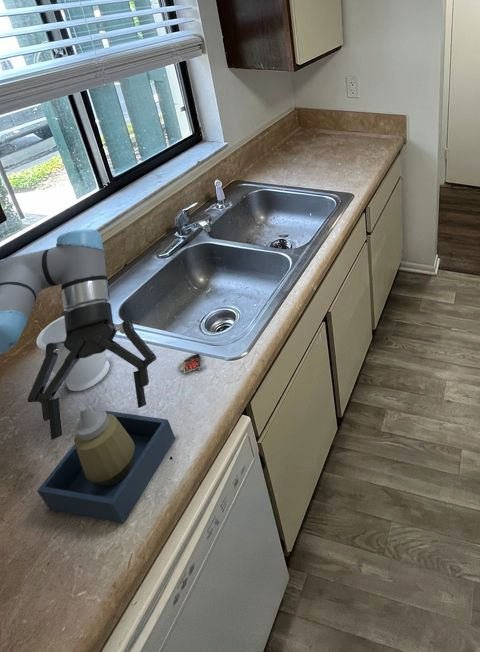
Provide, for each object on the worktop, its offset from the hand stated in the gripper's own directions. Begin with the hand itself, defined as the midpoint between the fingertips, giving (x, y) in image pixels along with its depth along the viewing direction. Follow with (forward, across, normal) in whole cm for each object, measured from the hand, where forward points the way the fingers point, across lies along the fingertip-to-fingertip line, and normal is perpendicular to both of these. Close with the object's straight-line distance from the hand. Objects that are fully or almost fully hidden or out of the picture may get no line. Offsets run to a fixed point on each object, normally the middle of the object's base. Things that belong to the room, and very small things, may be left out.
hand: (100, 421), depth 81 cm
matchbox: (-4, -14, -19) cm, 24 cm away
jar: (-9, +8, -24) cm, 27 cm away
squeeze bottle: (+10, 0, -5) cm, 11 cm away
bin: (+10, 0, -5) cm, 11 cm away
